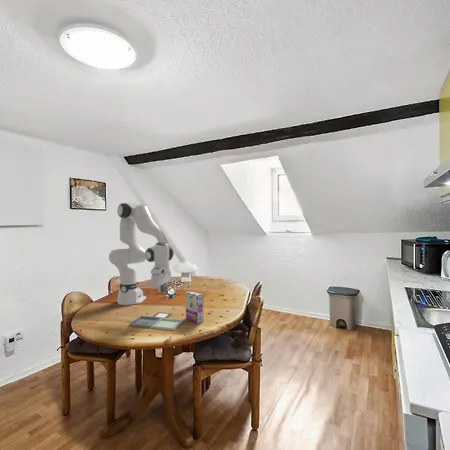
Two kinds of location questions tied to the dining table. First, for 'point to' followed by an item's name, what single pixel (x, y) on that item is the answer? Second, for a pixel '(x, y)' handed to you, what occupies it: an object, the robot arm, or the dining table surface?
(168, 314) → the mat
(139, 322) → the tray
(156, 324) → the tray
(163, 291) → the letter cube
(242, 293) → the dining table surface
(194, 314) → the candy bar box
